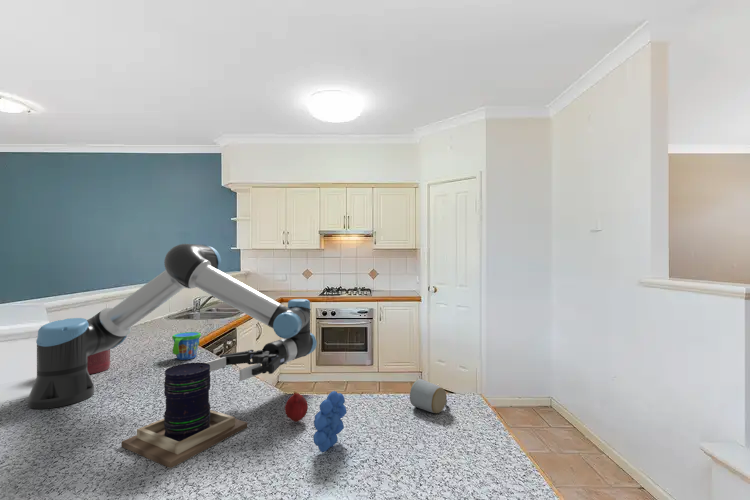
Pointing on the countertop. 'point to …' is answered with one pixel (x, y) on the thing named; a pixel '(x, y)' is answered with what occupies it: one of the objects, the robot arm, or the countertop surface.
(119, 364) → the countertop surface
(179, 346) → the snack cup
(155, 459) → the base board
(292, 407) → the onion
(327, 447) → the grapes
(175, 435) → the dark blue barrel
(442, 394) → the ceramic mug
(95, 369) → the canister
